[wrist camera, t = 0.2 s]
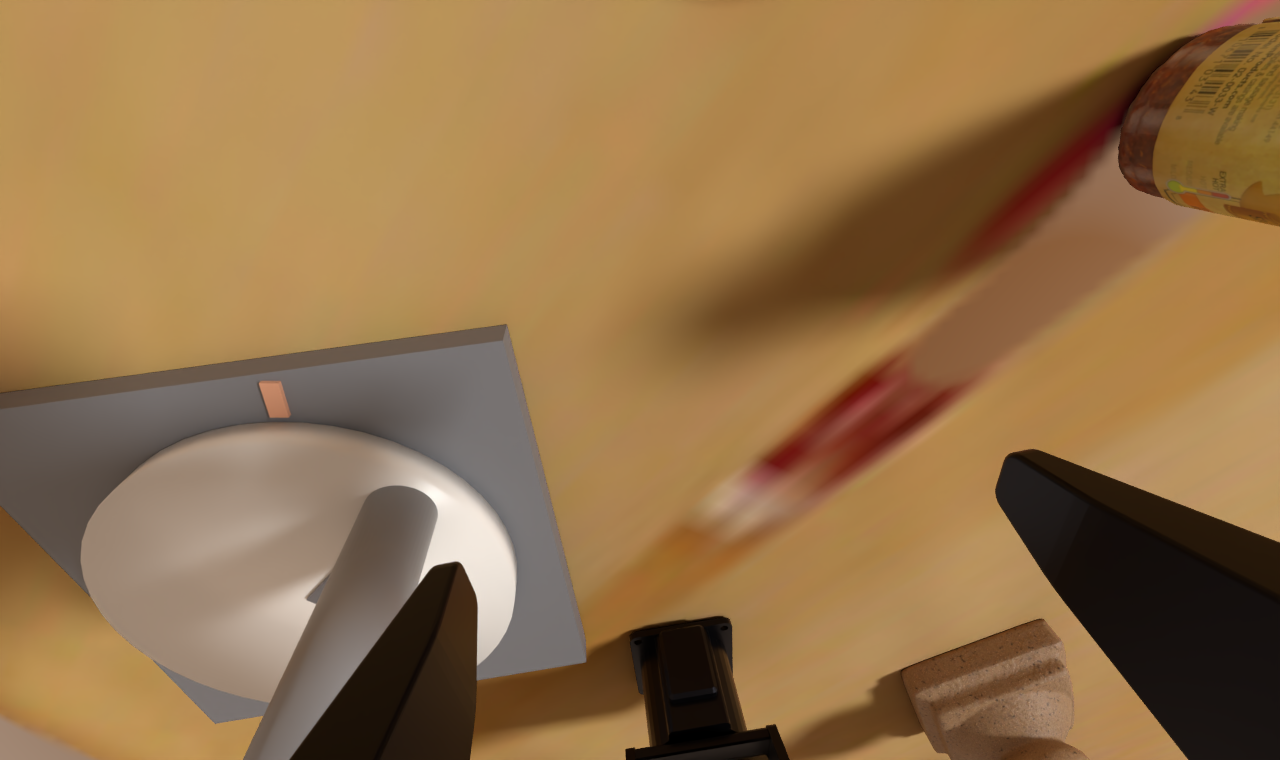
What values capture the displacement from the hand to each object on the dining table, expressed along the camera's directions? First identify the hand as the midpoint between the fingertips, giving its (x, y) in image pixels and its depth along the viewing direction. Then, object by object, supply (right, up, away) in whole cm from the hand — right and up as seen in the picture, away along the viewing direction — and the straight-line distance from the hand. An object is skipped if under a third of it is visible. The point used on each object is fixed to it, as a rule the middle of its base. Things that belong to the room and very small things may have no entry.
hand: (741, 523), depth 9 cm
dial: (-17, -7, +17) cm, 25 cm away
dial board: (-17, -6, +19) cm, 26 cm away
